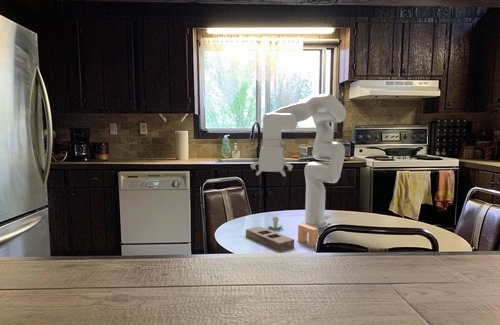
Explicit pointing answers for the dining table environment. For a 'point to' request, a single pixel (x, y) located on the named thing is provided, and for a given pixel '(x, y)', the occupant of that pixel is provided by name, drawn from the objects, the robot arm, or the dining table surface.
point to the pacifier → (275, 223)
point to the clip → (303, 232)
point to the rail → (270, 238)
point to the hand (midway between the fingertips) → (271, 185)
